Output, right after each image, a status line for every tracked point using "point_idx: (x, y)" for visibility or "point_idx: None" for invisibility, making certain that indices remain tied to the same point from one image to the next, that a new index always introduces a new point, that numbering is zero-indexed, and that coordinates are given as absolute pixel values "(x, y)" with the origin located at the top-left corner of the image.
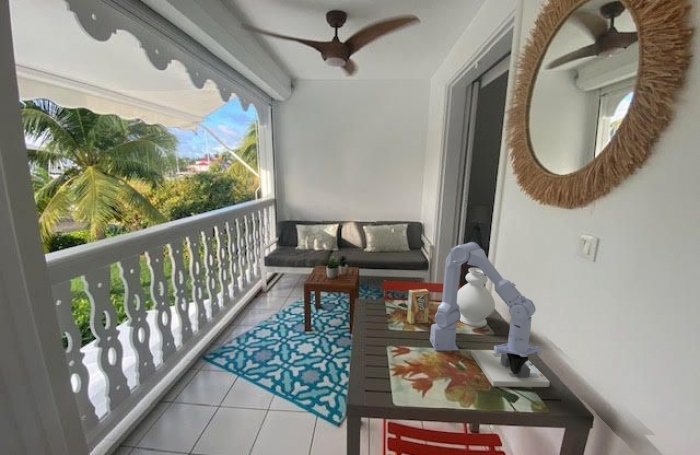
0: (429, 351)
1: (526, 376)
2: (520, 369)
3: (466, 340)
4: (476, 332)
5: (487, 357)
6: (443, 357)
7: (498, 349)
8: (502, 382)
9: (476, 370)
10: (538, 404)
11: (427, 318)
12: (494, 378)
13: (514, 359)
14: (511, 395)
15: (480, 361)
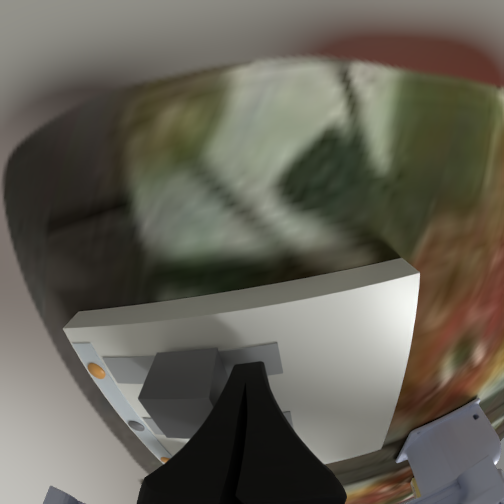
0: (493, 384)
1: (173, 355)
2: (212, 397)
3: (346, 473)
4: None
5: (339, 438)
6: (478, 377)
7: (496, 500)
8: (359, 283)
9: (416, 356)
10: (164, 144)
11: (415, 486)
12: (400, 302)
13: (329, 487)
14: (321, 193)
15: (391, 407)
